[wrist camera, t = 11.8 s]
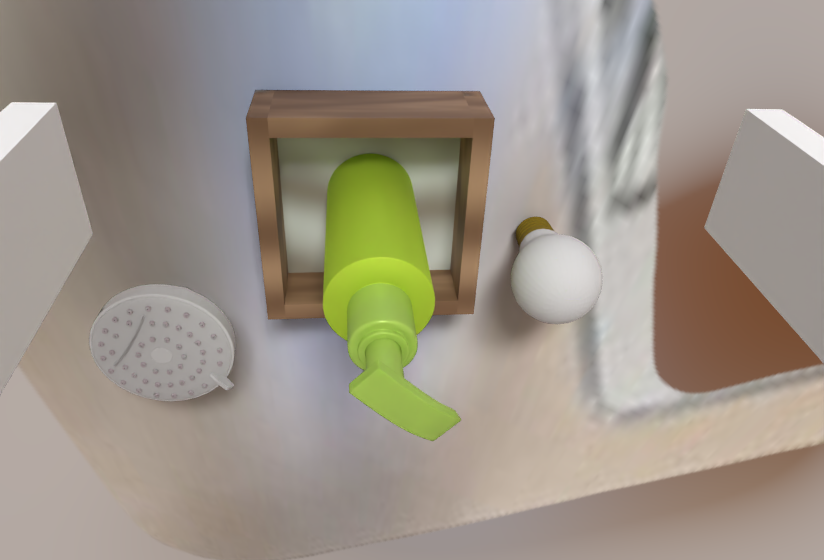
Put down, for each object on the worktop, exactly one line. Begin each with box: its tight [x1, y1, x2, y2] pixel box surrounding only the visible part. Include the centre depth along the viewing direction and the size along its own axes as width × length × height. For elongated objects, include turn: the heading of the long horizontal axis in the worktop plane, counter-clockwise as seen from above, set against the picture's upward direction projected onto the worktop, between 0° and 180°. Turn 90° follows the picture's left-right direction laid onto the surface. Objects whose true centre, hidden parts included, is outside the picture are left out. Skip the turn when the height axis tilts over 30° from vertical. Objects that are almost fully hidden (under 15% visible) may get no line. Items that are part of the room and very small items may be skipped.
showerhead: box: [89, 284, 236, 401], centre depth 47 cm, size 9×7×10 cm
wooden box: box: [246, 90, 495, 319], centre depth 44 cm, size 14×14×5 cm
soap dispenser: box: [323, 154, 461, 441], centre depth 37 cm, size 6×7×20 cm
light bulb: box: [511, 217, 603, 324], centre depth 45 cm, size 6×6×10 cm
